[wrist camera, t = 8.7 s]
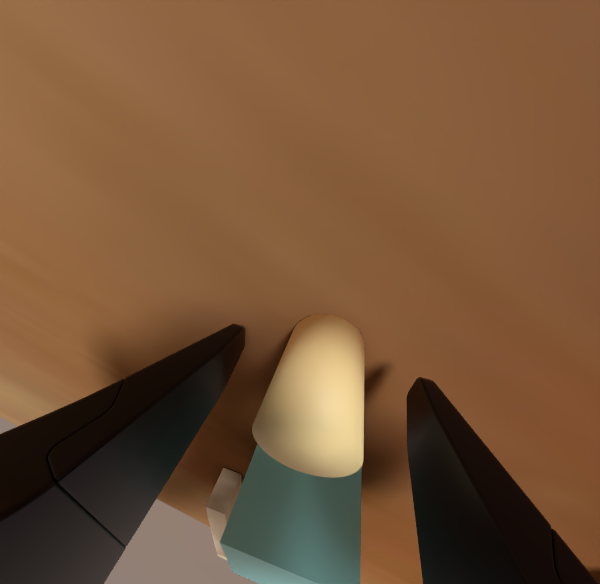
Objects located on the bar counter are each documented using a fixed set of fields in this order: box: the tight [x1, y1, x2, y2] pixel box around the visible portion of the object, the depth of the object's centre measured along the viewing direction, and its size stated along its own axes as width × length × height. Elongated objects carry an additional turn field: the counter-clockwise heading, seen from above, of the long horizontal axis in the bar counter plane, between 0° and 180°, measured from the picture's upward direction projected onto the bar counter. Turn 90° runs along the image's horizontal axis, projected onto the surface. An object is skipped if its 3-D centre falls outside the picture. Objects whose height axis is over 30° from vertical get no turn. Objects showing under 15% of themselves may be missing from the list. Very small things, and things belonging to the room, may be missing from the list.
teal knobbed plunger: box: [220, 314, 365, 584], centre depth 11 cm, size 6×16×5 cm, turn 176°
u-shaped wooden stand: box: [205, 468, 241, 560], centre depth 21 cm, size 11×16×2 cm
